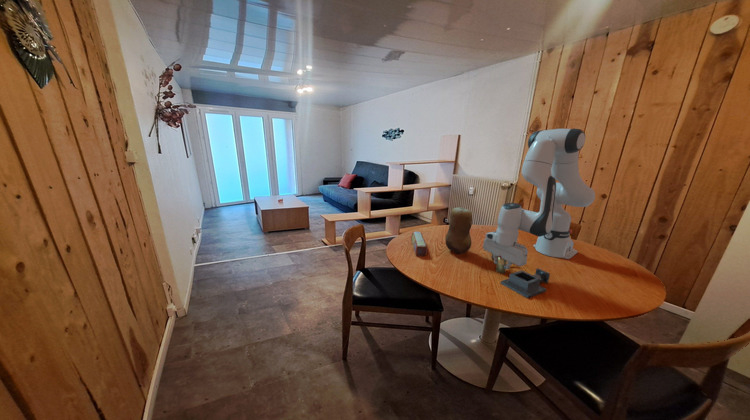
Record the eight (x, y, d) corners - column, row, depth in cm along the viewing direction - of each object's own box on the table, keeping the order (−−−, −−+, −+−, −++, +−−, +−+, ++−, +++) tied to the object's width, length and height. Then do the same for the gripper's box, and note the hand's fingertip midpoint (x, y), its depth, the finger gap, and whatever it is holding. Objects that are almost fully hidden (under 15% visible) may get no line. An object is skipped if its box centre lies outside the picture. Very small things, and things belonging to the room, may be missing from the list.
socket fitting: (528, 273, 114) (530, 264, 113) (556, 287, 104) (558, 276, 102) (500, 283, 106) (502, 272, 104) (527, 298, 95) (530, 287, 94)
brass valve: (499, 268, 118) (502, 252, 116) (507, 272, 115) (510, 256, 113) (492, 270, 116) (495, 254, 114) (500, 274, 113) (503, 258, 111)
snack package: (427, 257, 129) (428, 245, 128) (414, 256, 130) (415, 244, 128) (421, 241, 150) (422, 231, 148) (410, 241, 150) (411, 230, 148)
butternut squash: (472, 250, 138) (478, 207, 131) (466, 259, 127) (473, 213, 120) (447, 245, 145) (452, 204, 138) (440, 253, 134) (445, 209, 127)
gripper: (533, 246, 104) (527, 275, 107) (491, 230, 121) (488, 256, 125) (523, 248, 101) (518, 278, 105) (482, 232, 119) (479, 258, 122)
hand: (501, 266), depth 115 cm, fingers closed on brass valve, 4 cm apart
